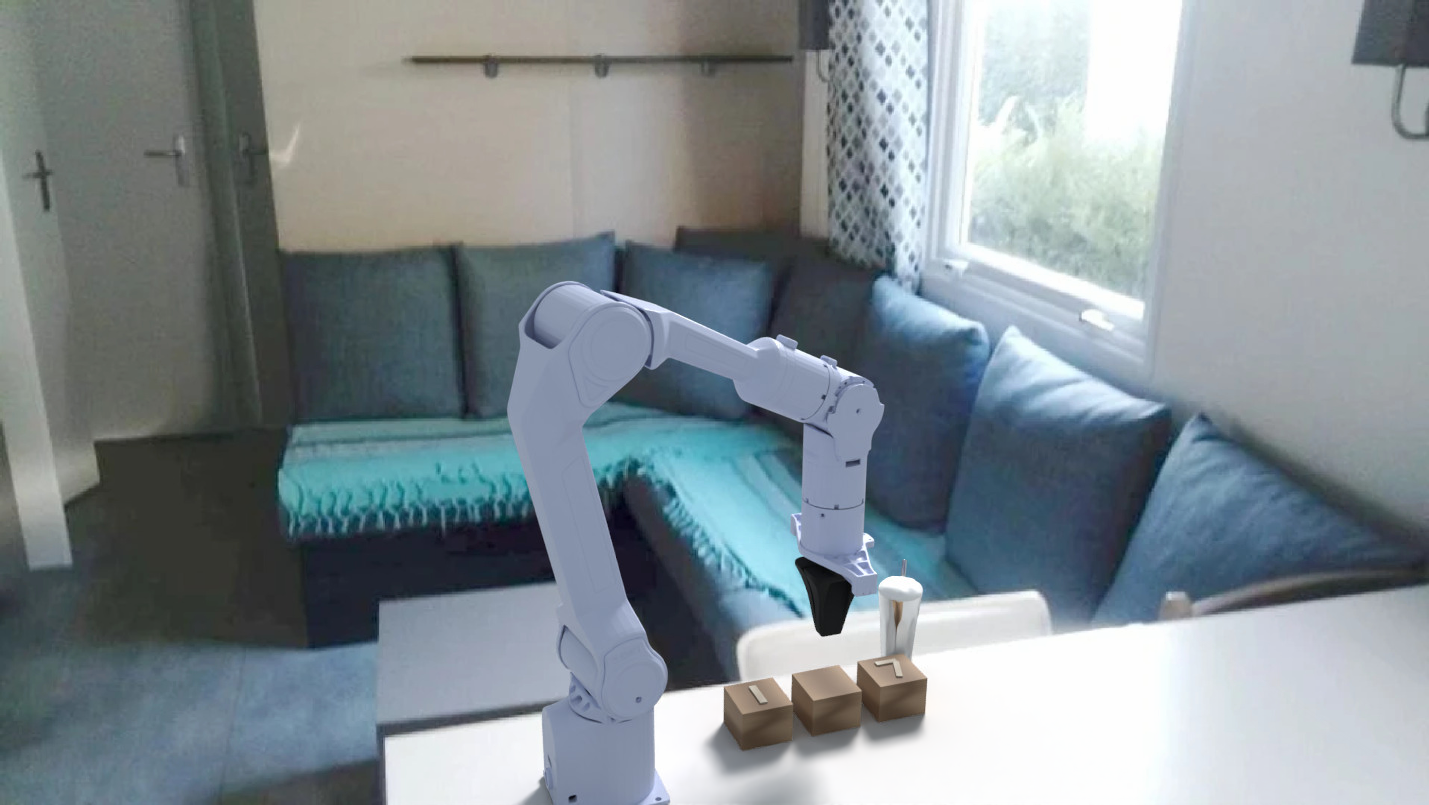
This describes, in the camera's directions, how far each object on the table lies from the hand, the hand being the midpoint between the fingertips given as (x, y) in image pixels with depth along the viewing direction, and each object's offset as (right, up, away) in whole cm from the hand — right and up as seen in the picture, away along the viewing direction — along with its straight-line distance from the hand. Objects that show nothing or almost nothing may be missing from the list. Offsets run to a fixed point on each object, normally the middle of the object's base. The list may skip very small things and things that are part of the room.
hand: (828, 632), depth 108 cm
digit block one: (-7, -10, +1) cm, 12 cm away
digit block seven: (+7, -8, +5) cm, 12 cm away
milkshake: (+9, -5, +14) cm, 17 cm away
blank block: (0, -9, +3) cm, 9 cm away
